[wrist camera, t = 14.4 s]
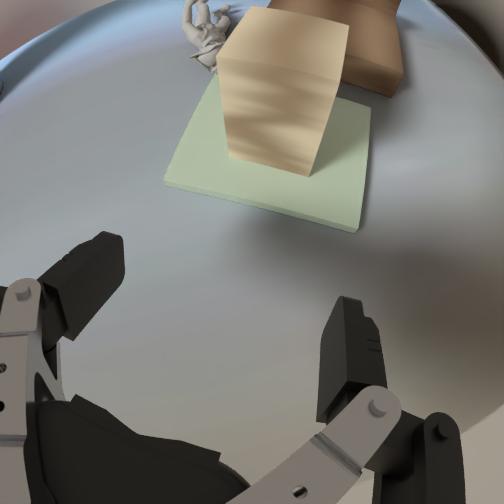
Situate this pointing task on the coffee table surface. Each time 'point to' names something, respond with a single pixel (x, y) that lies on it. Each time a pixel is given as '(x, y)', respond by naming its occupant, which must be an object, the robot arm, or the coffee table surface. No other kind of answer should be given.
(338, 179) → the pad
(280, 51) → the birch block
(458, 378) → the coffee table surface
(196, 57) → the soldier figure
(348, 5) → the walnut ledge
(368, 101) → the coffee table surface
